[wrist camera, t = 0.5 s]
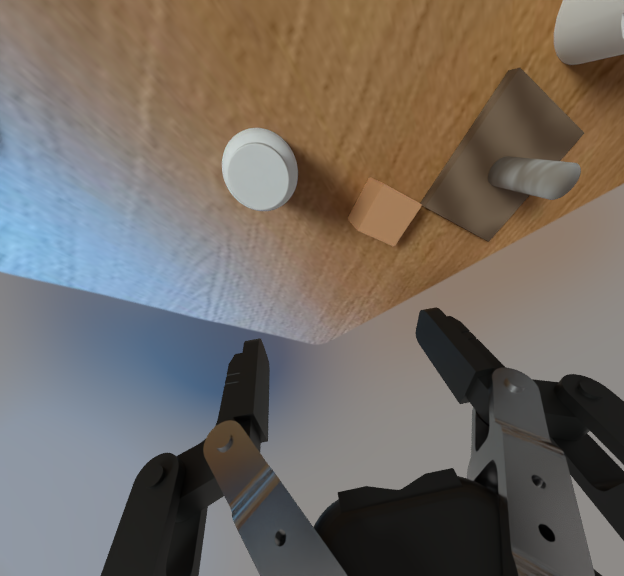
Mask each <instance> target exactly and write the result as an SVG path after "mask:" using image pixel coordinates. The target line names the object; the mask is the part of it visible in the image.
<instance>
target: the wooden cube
mask: <svg viewBox="0 0 624 576" xmlns="http://www.w3.org/2000/svg"><path fill="white" fill-rule="evenodd" d="M421 206H422V204H420V203H418V202H416V201H415V200H413V199H411V198H409V197H407V196H406V195H404V194H402V193H400V192H398V191H396V190H395V189H393V188H391V187H389V186H387V185H385V184H383V183H381V182H379V181H377V180H375V179H373V178H371V177H369V178H368V180H367V182H366V184H365V186H364V188H363V190H362V192H361V194H360V195H359V197H358V199H357V201H356V203H355V205H354V207H353V209H352V211H351V212H350V214H349V216H348V218H347V219H348V220H349V221H350V222H351V224H352V225H353V226H354V227H355V228H356V229H357V231H360V232H362V233H364V234H366V235H369V236H371V237H373V238H376V239H378V240H380V241H382V242H385V243H387V244H389V245H391V246H395V245H396V243H397V242H398V240H399V239H400V237H401V236H402V234H403V233H404V231H405V230H406V228H407V227H408V225H409V224H410V222H411V221H412V220H413V218H414V217H415V215H416V214H417V212H418V211H419V209H420V208H421Z"/></svg>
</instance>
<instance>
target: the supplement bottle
mask: <svg viewBox="0 0 624 576" xmlns="http://www.w3.org/2000/svg"><path fill="white" fill-rule="evenodd" d="M222 173H223V177H224V180H225V183H226V185H227V187H228V189H229V191H230V192H231V194H232V195H233V196H234V197H235V198H236V199H237V200H238V201H239V202H240V203H241V204H243V205H244V206H246V207H248V208H250V209H253V210H257V211H271V210H274V209H277V208H279V207H281V206H282V205H284V204H285V203H286V202H287V201H288V200H289V199H290V198H291V196H292V195H293V193H294V191H295V188H296V185H297V180H298V167H297V162H296V159H295V156H294V154H293V152H292V150H291V148H290V147H289V145H288V144H287V143H286V142H285V141H284V139H282V138H281V137H280V136H279V135H277V134H276V133H274V132H272V131H270V130H267V129H263V128H250V129H246V130H243V131H241V132H239V133H238V134H236V135H235V136H234V137H233V138H232V139H231V140H230V141H229V143H228V144H227V146H226V148H225V151H224V154H223V158H222Z"/></svg>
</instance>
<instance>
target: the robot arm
mask: <svg viewBox="0 0 624 576" xmlns="http://www.w3.org/2000/svg"><path fill="white" fill-rule="evenodd" d="M416 338H417V341H418V343H419V345H420V346H421V347H422V349H423V350H424V352H425V353H426V355H427V356H428V358H429V359H430V361H431V362H432V363H433V365H434V367H435V368H436V370H437V371H438V373H439V374H440V375H441V377H442V378H443V380H444V381H445V383H446V384H447V386H448V387H449V389H450V390H451V392H452V393H453V395H454V396H455V398H456V399H457V401H458V402H459V403H460V404H463V403H467V402H470V403H471V404H472V406H473V407H474V408H473V410H472V447H471V459H470V462H469V466H468V471H467V479H466V478H463V477H459V476H457V475H456V473H455V471H454V469H453V468H451V469H446V470H441V471H436V472H432V473H427V474H424V475H423V476H421V477H420V478H418V479H416V480H415V481H413V482H412V483H410V484H409V485H407V486H406V487H404V488H403V489H401V490H392V489H384V488H376V487H368V486H365V487H361V488H356V489H351V490H346V491H342V492H338V497H339V499H338V500H337V501H335V502H334V503H332V504H331V505H330V506H329V507H328V508H327V509H326V510H325V511H324V512H323V513H322V515H321V516H320V517H319V519H318V520H317V522H316V523H315V525H314V527H313V526H312V525H311V523H310V522H309V520H308V519H307V518H306V516H305V515H304V513H303V512H302V511H301V509H300V508H299V506H298V505H297V504H296V502H295V501H294V499H293V498H292V497H291V495H290V494H289V492H288V491H287V489H286V488H285V487H284V485H283V484H282V482H281V481H280V479H279V478H278V477H277V475H276V474H275V473H274V471H273V470H272V469H271V468H270V466H269V465H268V464H267V462H266V461H265V459H264V458H263V457H262V455H261V454H260V444H261V443H262V442H267V441H268V412H269V411H268V410H269V361H268V357H267V354H266V351H265V348H264V346H263V343H262V340H261V339H254V340H249V341H245V342H244V347H243V353H240V354H235V355H234V357H233V359H232V360H231V362H230V363H229V366H228V372H227V377H226V381H225V387H224V391H223V397H222V401H221V406H220V411H219V416H218V421H217V423H216V426H215V427H214V429H212V430H211V432H210V433H209V434H208V436H207V438H206V439H205V440H204V441H203V442H201V443H200V444H198V445H196V446H195V447H193V448H191V449H189V450H187V451H185V452H183V453H182V454H180V455H178V456H175V455H173V454H171V453H163V454H160V455H158V456H156V457H154V458H153V459H151V460H150V461H149V462H148V463H147V464H146V465H145V466H144V467H143V468H142V469H141V471H140V472H139V474H138V475H137V477H136V479H135V481H134V484H133V487H132V489H131V492H130V495H129V498H128V501H127V503H126V507H125V509H124V512H123V515H122V517H121V520H120V523H119V526H118V529H117V531H116V534H115V537H114V540H113V543H112V545H111V548H110V551H109V554H108V557H107V559H106V562H105V565H104V568H103V571H102V573H101V576H198V575H199V567H200V560H201V552H202V545H203V538H204V530H205V523H206V516H207V508H208V506H209V505H210V504H212V503H214V502H215V501H217V500H218V499H220V498H221V497H223V496H225V498H226V500H227V502H228V504H229V506H230V508H231V511H232V518H233V520H234V523H235V525H236V528H237V530H238V532H239V534H240V535H241V538H242V540H243V542H244V544H245V546H246V548H247V550H248V552H249V554H250V556H251V558H252V560H253V562H254V564H255V566H256V568H257V570H258V572H259V574H260V576H602V575H600V574H599V573H598V572H597V571H595V570H594V569H593V565H592V561H591V557H590V553H589V549H588V545H587V541H586V537H585V533H584V529H583V525H582V521H581V517H580V513H579V509H578V505H577V501H576V497H575V493H574V488H573V484H572V480H571V476H572V477H573V478H574V480H575V481H576V482H577V483H578V485H579V486H580V487H581V488H582V490H583V491H584V492H585V493H586V495H587V496H588V497H589V498H590V500H591V501H592V502H593V503H594V505H595V506H596V507H597V508H598V509H599V511H600V512H601V513H602V514H603V516H604V517H605V518H606V519H607V521H608V522H609V523H610V524H611V526H612V527H613V528H614V529H615V531H616V532H617V533H618V534H619V535H620V537H621V538H622V539H623V540H624V471H623V470H622V469H621V468H620V467H619V466H618V465H617V464H616V463H615V462H614V461H613V460H612V459H611V458H610V457H609V456H608V455H607V453H605V451H604V450H603V449H602V448H601V447H600V446H599V445H598V444H597V443H596V442H595V441H594V440H593V439H592V438H591V437H590V436H589V435H588V434H587V433H588V432H589V431H591V432H592V433H593V434H594V435H595V436H596V437H597V438H598V439H599V440H600V441H601V442H602V443H603V444H604V445H605V446H606V447H607V448H608V449H609V450H610V451H611V452H612V453H613V454H614V455H615V456H616V457H617V458H618V459H619V460H620V461H621V462H622V463H623V465H624V401H622V400H621V399H620V398H619V397H618V396H616V395H615V394H614V393H613V392H612V391H610V390H609V389H608V388H606V387H605V386H604V385H602V384H600V383H599V382H597V381H595V380H593V379H591V378H588V377H585V376H581V375H576V374H570V375H566V376H564V377H563V378H562V379H561V380H560V382H550V381H542V380H541V381H540V380H532V379H531V378H529V377H528V376H527V375H525V374H524V373H522V372H520V371H518V370H515V369H511V368H506V367H505V366H503V365H502V364H501V362H500V361H498V359H497V358H496V357H495V356H494V355H493V354H492V353H491V352H490V351H489V350H488V349H487V348H486V347H485V346H484V345H483V344H482V343H481V342H480V341H479V340H478V339H476V337H475V336H474V335H473V334H472V333H471V332H469V330H468V329H467V328H466V327H465V326H464V325H463V324H462V323H461V322H460V321H458V320H456V319H455V318H453V317H451V316H446V315H445V314H444V313H443V312H442V311H441V310H440V309H439V308H431V309H425V310H421V311H420V313H419V318H418V323H417V328H416ZM570 475H571V476H570Z"/></svg>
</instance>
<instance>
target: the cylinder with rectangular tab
mask: <svg viewBox="0 0 624 576" xmlns="http://www.w3.org/2000/svg"><path fill="white" fill-rule="evenodd" d="M554 47H555V51H556V54H557V56H558V57H559V59H560V60H561V61H562V62H563V63H566V64H569V65H576V64H583V63H587V62H591V61H596V60H600V59H605V58H609V57H614V56H618V55H622V54H624V0H563V2H562V5H561V7H560V10H559V13H558V16H557V20H556V25H555V30H554Z"/></svg>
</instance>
